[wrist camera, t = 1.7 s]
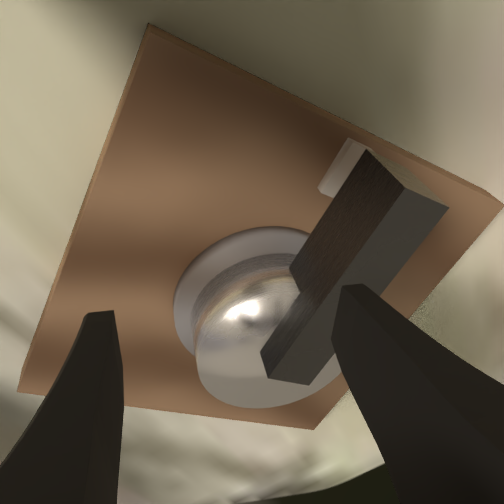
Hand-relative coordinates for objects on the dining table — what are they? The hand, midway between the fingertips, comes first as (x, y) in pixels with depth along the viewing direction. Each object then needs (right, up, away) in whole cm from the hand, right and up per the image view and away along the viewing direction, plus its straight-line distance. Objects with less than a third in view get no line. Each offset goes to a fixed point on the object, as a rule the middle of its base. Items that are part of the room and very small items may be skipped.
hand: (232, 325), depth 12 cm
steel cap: (+2, +1, +8) cm, 9 cm away
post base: (+1, 0, +12) cm, 12 cm away
